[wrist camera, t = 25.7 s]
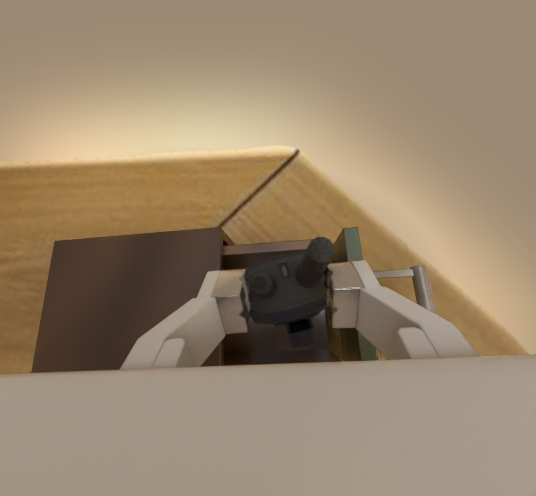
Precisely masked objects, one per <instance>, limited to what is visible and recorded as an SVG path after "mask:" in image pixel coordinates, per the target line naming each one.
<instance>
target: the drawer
mask: <svg viewBox="0 0 536 496" xmlns="http://www.w3.org/2000/svg"><path fill="white" fill-rule="evenodd" d="M312 240H313V239H312ZM312 240H298V241H285V242H272V243H259V244H246V245H232V246H223V270H240V269H246V270H247V268H249V267H251V266H253V265H255V264H258V263H261V262H264V261H267V260H270V259H274V258H277V257H281V256H284V255H288V254H292V253H296V252H301V251H306V250H307V247H308V245H309V244H310V242H311V241H312ZM334 252H335V253H334V255H333V257H332V259H331V261H332V263H343V262H352V261H361V260H363V256H362V250H361V243H360V237H359V230H358V227H352V228H343V230H342V231H341V233H340V235H339V236H338V238H337V240H336V241H335V243H334ZM372 272H373V273H374V275H375V277H376V279H384V278H401V277H412V280H413V285H414V290H415V295H416V300H417V304H418V305H420V306H422V307H424V308H425V309H427V310H429V311H431V312H433V313H434V314H436V315H437V312H436V307H435V302H434V298H433V293H432V289H431V284H430V280H429V275H428V270H427V266H426V265H420V266H413V267H410V269H403V270H387V271H372ZM320 313H321V314H319V316H315V317H312V318H310V319H311V322H312V324H313V327H314V329H315V332H316V335H317V341H316V342H315V343H313V344H310V345H307V346H303V347H298V348H294V347H292V346H291V344H290V340H289V336H288V331H287V327H286V325H282V326H278V327H277V326H275V324H258V323H255V322H254V321H253V320H252V318H251V317H250V315H249V318H250V320H249V328H248V332H246V333H233V334H226V336H225V337H224V338H223V349H224V366H234V365H261V364H289V363H317V362H342V361H341V360H340V359H339V358H338V357H337V356H336V355H335V354H334V353H333V352H332V351H331V350H330V348H329V338H328V329H327V319H326V310H325V309H324V310H322V311H321V312H320ZM306 319H307V318H306ZM339 329H340V337H341V346H342V354H343V362H345V361H372V360H378V355H377V349H376V347H375V346H374V345H373V344H372V343H370V342H369V341H368V340H367V339H366V338H365V337H364V336H363V335H362V334H361V333H360V332H359V331H358V330H357V329H356V328H339Z"/></svg>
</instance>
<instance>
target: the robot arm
mask: <svg viewBox="0 0 536 496" xmlns="http://www.w3.org/2000/svg"><path fill="white" fill-rule="evenodd" d="M324 274H325V278H326V280H325V282H324V293H325V300H326V305H327V306H328V307H329V317H330V321H331V325H332V328H356V329H357V330H358V331H359V332H360V333H361V334H362V335H363V336H364V337H365V338H366V339H367V340H368V341H369V342H370V343H372V344H373V345H374V346H375V347H376V348H377V349H378V350H379V351H380V352H381V353H382V354H383V355H384V356H385V357H386V358H387V359H388V360H372V361H345V362H317V363H289V364H261V365H234V366H208V367H200V366H201V365H202V364H203V362H204V361H205V360H206V359H207V358H208V356H209V355H210V354H211V353H212V351H213V350H214V349H215V348H216V347H217V345H218V344H219V343H220V342H221V340H222V339H223V338H224V337H225V336H226V334H233V333H246V332H248V328H249V320H250V318H249V311H250V310H251V289H250V286H249V285H247V284H248V274H247V270H246V269H240V270H222V271H209V272H207V274H206V276H205V279H204V281H203V284H202V286H201V288H200V291H199V293H198V295H197V298H193V299H191V300H190V301H188V302H187V303H186V304H184V305H183V306H182V307H180V308H179V309H178V310H176V311H175V312H174V313H172V314H171V315H170V316H168V317H167V318H165V319H164V320H163V321H161V322H160V323H159V324H157V325H156V326H155V327H153V328H152V329H151V330H149V331H148V332H147V333H145V334H144V335H142V336H141V337H140V338H138V339H137V341H136V343H135V345H134V346H133V348H132V350H131V351H130V353H129V355H128V356H127V358H126V360H125V361H124V363H123V365H122V366H121V368H120V370H98V371H70V372H43V373H16V374H0V496H536V355H509V356H482V357H480V356H479V355H478V353H477V352H476V351H475V350H474V348H473V347H472V346H471V345H470V343H469V342H468V341H467V340H466V338H465V337H464V336H463V335H462V333H461V332H460V331H459V330H458V328H457V327H456V326H455V325H454V324H453V323H451V322H449V321H447V320H445V319H444V318H442V317H440V316H438V315H436V314H434V313H433V312H431V311H429V310H427V309H425V308H424V307H422V306H420V305H418V304H416V303H414V302H413V301H411V300H409V299H407V298H405V297H403V296H402V295H400V294H398V293H396V292H394V291H392V290H391V289H389V288H387V287H381V286H380V284H379V282H378V280H377V279H376V277H375V275H374V273H373V272H372V270H371V268H370V266H369V265H368V263H367V261H365V260H361V261H352V262H343V263H331V264H328V266H327V268H326V270H325V272H324Z"/></svg>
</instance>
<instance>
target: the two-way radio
mask: <svg viewBox="0 0 536 496" xmlns="http://www.w3.org/2000/svg"><path fill="white" fill-rule="evenodd" d="M334 253H335V252H334V245H333V244H332V242H331V241H330V240H328V239H327V238H325V237H317V238H315V239H313V240H312V241H311V242H310V244H309V245H308V247H307V250H306V251H301V252H296V253H292V254H288V255H284V256H281V257H277V258H274V259H270V260H267V261H264V262H261V263H258V264H255V265H253V266H251V267H249V268H247V274H248V284H247V285H249V286H250V289H251V310H250V311H249V315H250V317H251V318H252V320H253V321H254V322H255V323H258V324H275V326H277V327H278V326H282V325H286V327H287V331H288V336H289V340H290V344H291V346H292V347H294V348H298V347H303V346H307V345H310V344H313V343H315V342H316V341H317V335H316V332H315V329H314V327H313V324H312V322H311V319H310V318H312V317H315V316H319V314H321V313H320V312H321V311H322V310H324V309H326V308H328V306H327V305H326V300H325V293H324V282H325V280H326V278H325V274H324V272H325V270H326V268H327V266H328V264H330V260H331V259H332V257H333V255H334ZM306 318H307V319H306Z"/></svg>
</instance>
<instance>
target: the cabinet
mask: <svg viewBox="0 0 536 496" xmlns="http://www.w3.org/2000/svg"><path fill="white" fill-rule="evenodd" d="M232 245H235V244H234V243H233V241H232V240H231V239H230V238H229V237H228V236H227V235H226V233H225V232H224V231H223V230H222V229H221V228H220V227H218V228H206V229H194V230H181V231H169V232H157V233H145V234H133V235H121V236H109V237H96V238H84V239H72V240H60V241H55V242H54V247H53V253H52V259H51V264H50V270H49V276H48V281H47V287H46V293H45V298H44V304H43V310H42V315H41V321H40V327H39V332H38V338H37V344H36V349H35V355H34V361H33V366H32V372H31V373H43V372H70V371H98V370H120V368H121V366H122V365H123V363H124V361H125V360H126V358H127V356H128V355H129V353H130V351H131V350H132V348H133V346H134V345H135V343H136V341H137V339H138V338H140V337H141V336H142V335H144V334H145V333H147V332H148V331H149V330H151V329H152V328H153V327H155V326H156V325H157V324H159V323H160V322H161V321H163V320H164V319H165V318H167V317H168V316H170V315H171V314H172V313H174V312H175V311H176V310H178V309H179V308H180V307H182V306H183V305H184V304H186V303H187V302H188V301H190V300H191V299H193V298H197V295H198V293H199V291H200V288H201V286H202V284H203V281H204V279H205V276H206V274H207V272H209V271H222V270H223V246H232ZM208 366H224V349H223V339H222V340H221V342H220V343H219V344H218V345H217V347H216V348H215V349H214V350H213V351H212V353H211V354H210V355H209V356H208V358H207V359H206V360H205V361H204V362H203V364H202V365H201V366H200V367H208Z"/></svg>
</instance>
